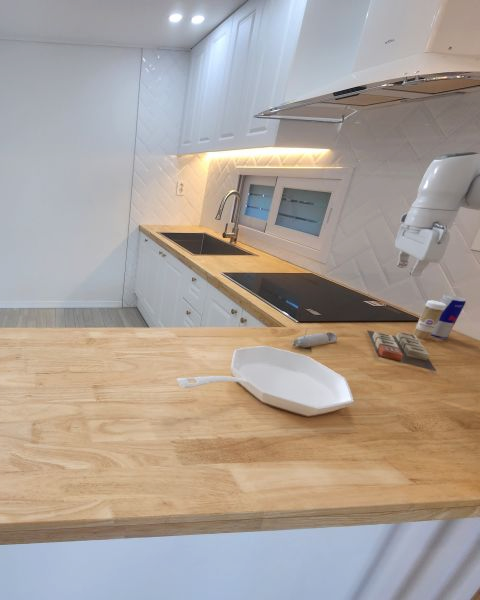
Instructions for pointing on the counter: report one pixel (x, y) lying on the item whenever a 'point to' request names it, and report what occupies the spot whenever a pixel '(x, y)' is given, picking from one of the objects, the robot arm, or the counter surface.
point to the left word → (384, 340)
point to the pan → (284, 381)
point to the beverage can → (448, 316)
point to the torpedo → (315, 339)
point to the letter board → (404, 355)
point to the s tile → (390, 352)
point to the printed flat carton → (412, 346)
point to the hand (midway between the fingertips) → (407, 271)
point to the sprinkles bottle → (429, 319)
